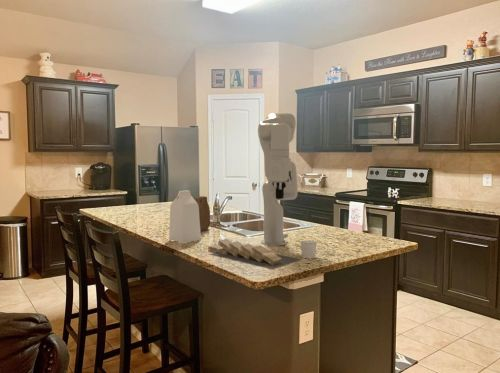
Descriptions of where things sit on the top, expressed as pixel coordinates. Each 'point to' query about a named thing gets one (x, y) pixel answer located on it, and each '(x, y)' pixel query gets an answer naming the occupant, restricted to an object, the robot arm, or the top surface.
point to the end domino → (218, 249)
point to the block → (203, 212)
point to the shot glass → (308, 249)
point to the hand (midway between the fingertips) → (279, 198)
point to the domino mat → (284, 261)
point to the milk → (184, 218)
